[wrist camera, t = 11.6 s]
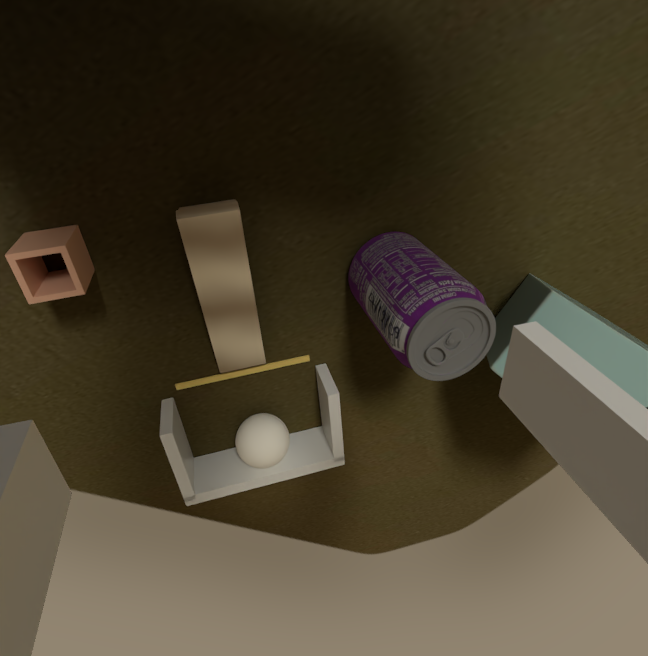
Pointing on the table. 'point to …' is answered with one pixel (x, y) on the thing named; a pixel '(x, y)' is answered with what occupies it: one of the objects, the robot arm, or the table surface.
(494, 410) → the table surface
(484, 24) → the table surface
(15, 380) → the table surface
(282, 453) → the ball
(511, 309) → the hexagonal wall shelf
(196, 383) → the line
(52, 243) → the salmon pink box
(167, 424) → the fence
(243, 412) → the table surface
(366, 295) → the beverage can
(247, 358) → the ramp
